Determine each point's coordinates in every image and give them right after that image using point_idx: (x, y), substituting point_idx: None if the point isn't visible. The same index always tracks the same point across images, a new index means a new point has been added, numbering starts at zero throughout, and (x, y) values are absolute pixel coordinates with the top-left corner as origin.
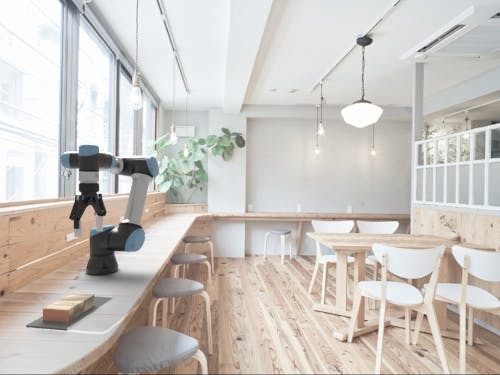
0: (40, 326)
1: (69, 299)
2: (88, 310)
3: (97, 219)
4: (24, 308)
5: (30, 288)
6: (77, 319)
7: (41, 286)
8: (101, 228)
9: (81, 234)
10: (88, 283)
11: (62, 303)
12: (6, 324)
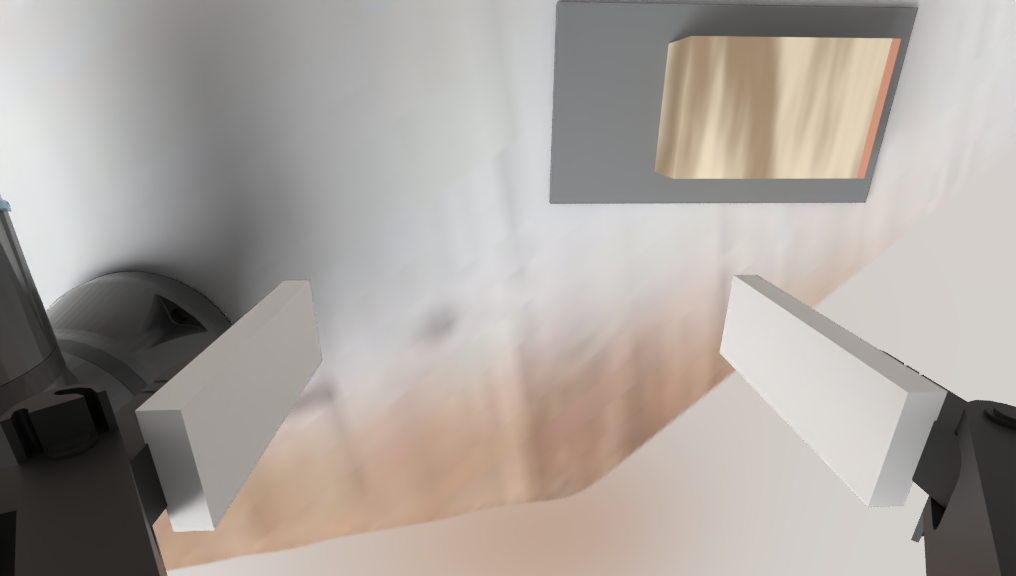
0: (882, 137)
1: (759, 131)
2: (730, 33)
3: (240, 454)
4: (689, 340)
5: (487, 477)
6: (830, 18)
7: (456, 457)
8: (295, 302)
9: (760, 285)
10: (366, 292)
11: (811, 128)
12: (829, 289)
